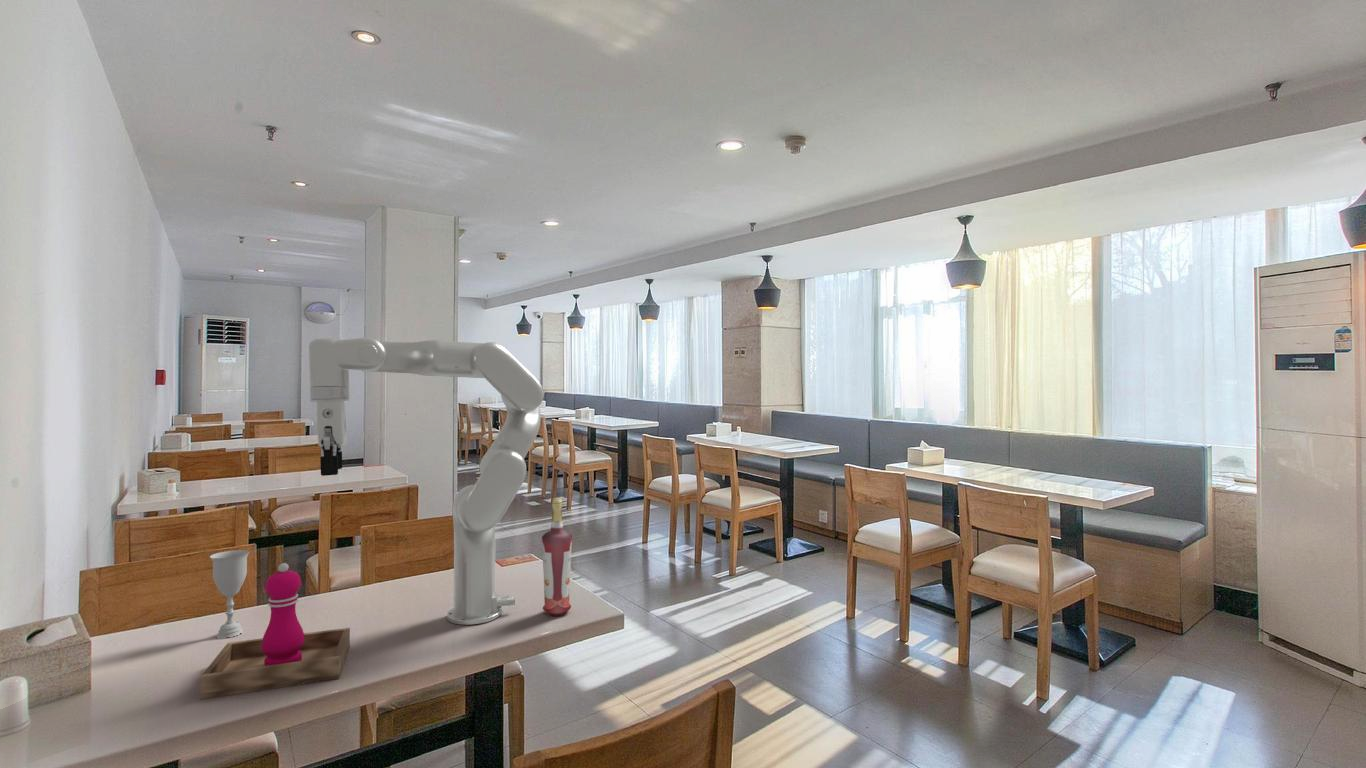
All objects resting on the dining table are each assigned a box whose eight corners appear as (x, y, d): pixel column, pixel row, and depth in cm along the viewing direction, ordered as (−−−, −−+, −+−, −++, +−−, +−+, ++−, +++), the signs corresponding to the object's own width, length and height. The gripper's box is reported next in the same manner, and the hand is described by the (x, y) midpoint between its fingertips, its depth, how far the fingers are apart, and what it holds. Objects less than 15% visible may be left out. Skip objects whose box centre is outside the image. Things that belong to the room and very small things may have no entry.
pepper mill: (284, 674, 121) (284, 569, 121) (251, 671, 122) (252, 567, 122) (313, 658, 128) (313, 559, 128) (282, 655, 129) (282, 557, 129)
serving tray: (349, 646, 136) (349, 627, 136) (338, 678, 121) (338, 657, 121) (227, 662, 128) (227, 642, 128) (200, 699, 113) (200, 677, 113)
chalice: (207, 642, 138) (206, 560, 138) (213, 631, 144) (213, 552, 144) (247, 636, 141) (247, 555, 141) (251, 626, 147) (251, 548, 147)
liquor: (573, 616, 153) (573, 501, 153) (542, 619, 152) (542, 502, 152) (571, 606, 161) (571, 495, 160) (541, 608, 159) (541, 497, 159)
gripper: (345, 395, 133) (347, 476, 134) (352, 393, 149) (354, 466, 150) (304, 396, 130) (306, 479, 131) (315, 394, 146) (317, 468, 147)
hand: (332, 472), depth 140 cm, fingers open, 9 cm apart
